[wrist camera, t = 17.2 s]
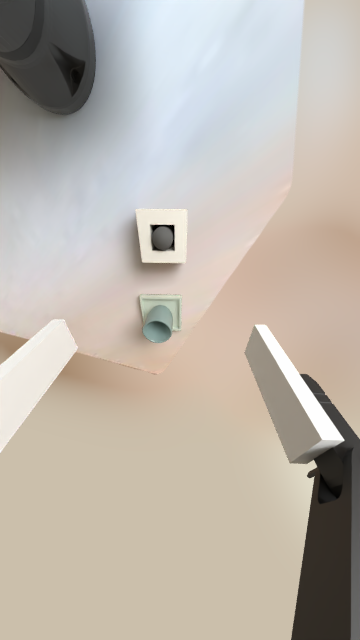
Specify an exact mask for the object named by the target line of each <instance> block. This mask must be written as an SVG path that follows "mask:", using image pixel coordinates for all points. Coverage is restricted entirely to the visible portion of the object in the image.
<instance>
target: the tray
mask: <svg viewBox="0 0 360 640" xmlns="http://www.w3.org/2000/svg"><path fill="white" fill-rule="evenodd" d="M139 298H140V305H141V311H142V318H143V324H144V322H145V319H146V317H147V315H148V313H149V311H150V310H151V309H152V308H153V307H155V306H157V305H164V306H166V307H168V308H169V309H170V311H171V312H172V315H173V330H172V331H181V307H182V295H161V294H141V295H140V297H139Z"/></svg>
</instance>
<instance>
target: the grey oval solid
mask: <svg viewBox="0 0 360 640" xmlns="http://www.w3.org/2000/svg"><path fill="white" fill-rule="evenodd" d="M173 239H174V232H173V229H172V228H171V227H170V226H168V225H161V226H160V227H158V228H157V229H156V230H155V231H154V232H153V235H152V241H153V244H154V245H155V247H156V248H158V249H160V250H166V249H168V248H169V247H170V246H171V244H172V242H173Z"/></svg>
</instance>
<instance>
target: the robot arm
mask: <svg viewBox="0 0 360 640" xmlns="http://www.w3.org/2000/svg"><path fill="white" fill-rule="evenodd" d="M95 62H96V59H95V43H94V36H93V30H92V25H91V21H90V17H89V13H88V10H87V6H86V3H85V0H0V67H1V68H2V70H3V71H4V72H5V74H6V75H7V76H8V77H9V79H10V80H11V81H12V82H13V83H14V84H15V85H16V87H17V88H18V89H20V90H21V91H22V92H23V93H24V94H25V95H26V96H27V97H29V98H30V99H31V100H33V101H34V102H35V103H37V104H38V105H40V106H41V107H43V108H44V109H46V110H48V111H50V112H53V113H56V114H70V113H73V112H75V111H77V110H78V109H80V108H81V107H82V106H83V105H84V103H85V102H86V100H87V99H88V97H89V95H90V92H91V89H92V86H93V82H94V76H95ZM77 349H78V347H77V345H76V343H75V341H74V339H73V337H72V335H71V333H70V331H69V329H68V327H67V325H66V323H65V321H64V320H56V319H53V320H52V321H51V322H50V323H48V324H47V325H46V326H45V327H44V328H43V329H41V330H40V331H39V332H38V333H37V334H36V335H35V336H33V337H32V338H31V339H30V340H29V341H28V342H27V343H25V344H24V345H23V346H22V347H21V348H20V349H18V350H17V351H16V352H15V353H14V354H13V355H12V356H10V357H9V358H8V359H7V360H6V361H5V362H3V364H1V365H0V452H1V451H2V450H3V448H4V447H5V445H6V444H7V443H8V441H9V440H10V439H11V437H12V436H13V435H14V434H15V432H16V431H17V430H18V428H19V427H20V425H21V424H22V423H23V421H24V420H25V419H26V417H27V416H28V415H29V413H30V412H31V411H32V409H33V408H34V407H35V405H36V404H37V403H38V401H39V400H40V399H41V397H42V396H43V395H44V393H45V392H46V391H47V389H48V388H49V387H50V385H51V384H52V383H53V381H54V380H55V379H56V377H57V376H58V374H59V373H60V372H61V370H62V369H63V368H64V366H65V365H66V363H67V362H68V361H69V360H70V358H71V357H72V356H73V354H74V353H75V352H76V350H77ZM245 355H246V357H247V360H248V362H249V365H250V367H251V370H252V372H253V375H254V377H255V379H256V382H257V384H258V387H259V389H260V391H261V394H262V397H263V399H264V401H265V404H266V406H267V409H268V411H269V414H270V416H271V419H272V421H273V423H274V426H275V428H276V431H277V433H278V436H279V438H280V440H281V443H282V445H283V448H284V450H285V453H286V455H287V458H288V460H289V463H298V464H307V463H309V462H311V461H312V460H314V461H315V463H316V465H317V468H315V469H313V470H312V471H310V472H309V473H308V475H307V477H308V478H312V477H314V476H315V478H314V485H313V491H312V498H311V505H310V513H309V519H308V526H307V533H306V540H305V547H304V554H303V561H302V568H301V575H300V582H299V589H298V596H297V603H296V610H295V617H294V623H293V631H292V638H291V640H360V439H359V438H358V437H357V435H356V434H355V433H354V431H353V430H352V429H351V427H350V426H349V425H348V423H347V422H346V421H345V419H344V418H343V417H342V415H341V414H340V413H339V411H338V410H337V409H336V407H335V406H334V405H333V404H332V403H331V401H330V399H329V398H328V397H327V395H325V392H324V391H323V390H322V389H321V387H320V386H319V384H317V382H316V381H314V380H313V379H312V378H311V377H309V375H307V374H299V373H298V371H297V370H296V369H295V367H294V366H293V364H292V363H291V361H290V360H289V358H288V357H287V355H286V354H285V353H284V351H283V349H282V348H281V347H280V345H279V344H278V342H277V341H276V339H275V338H274V336H273V335H272V333H271V332H270V330H269V329H268V327H267V326H266V325H254V328H253V331H252V334H251V336H250V339H249V342H248V344H247V347H246V350H245Z"/></svg>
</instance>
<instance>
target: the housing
mask: <svg viewBox="0 0 360 640" xmlns="http://www.w3.org/2000/svg"><path fill="white" fill-rule="evenodd" d="M135 210H136V218H137V226H138V234H139V242H140V250H141V258H142V263H186V244H187V209H135ZM155 225H175V246H170V247H169V248H168V249H166V250H160V249H158V248H156V247H155V245H154V244H153V241H152V235H153V232H154V231H155Z"/></svg>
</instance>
